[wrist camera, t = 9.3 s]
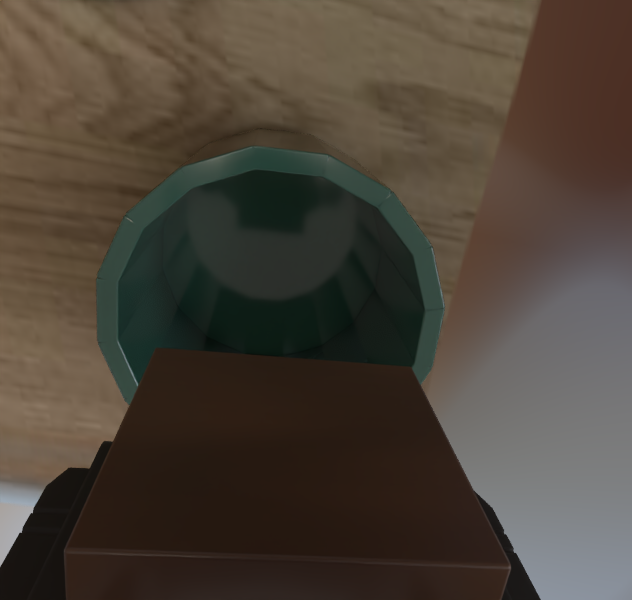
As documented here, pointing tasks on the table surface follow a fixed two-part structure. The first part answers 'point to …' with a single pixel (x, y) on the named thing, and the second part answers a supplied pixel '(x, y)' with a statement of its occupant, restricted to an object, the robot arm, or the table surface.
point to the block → (281, 489)
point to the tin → (269, 263)
